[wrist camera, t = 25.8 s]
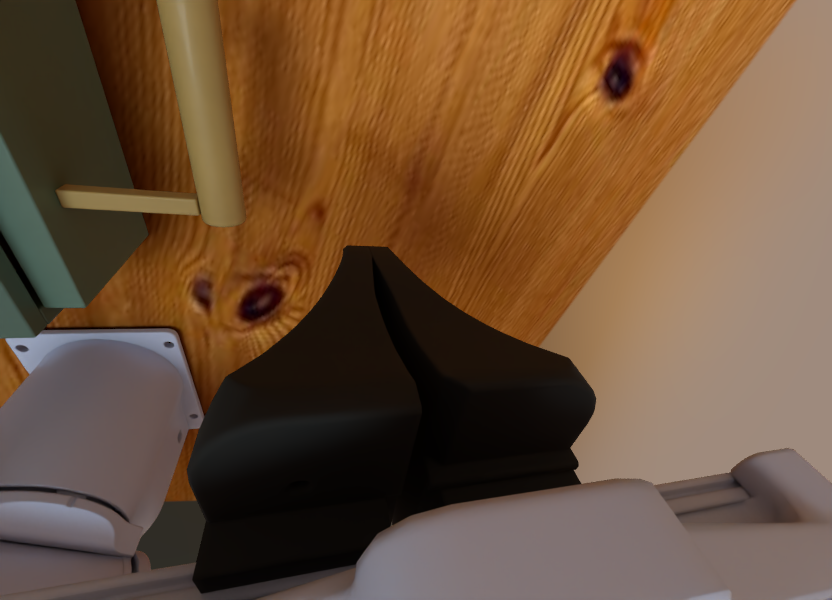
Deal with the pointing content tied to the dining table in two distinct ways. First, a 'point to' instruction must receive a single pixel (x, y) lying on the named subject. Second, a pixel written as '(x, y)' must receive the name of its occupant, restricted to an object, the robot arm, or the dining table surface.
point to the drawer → (100, 146)
